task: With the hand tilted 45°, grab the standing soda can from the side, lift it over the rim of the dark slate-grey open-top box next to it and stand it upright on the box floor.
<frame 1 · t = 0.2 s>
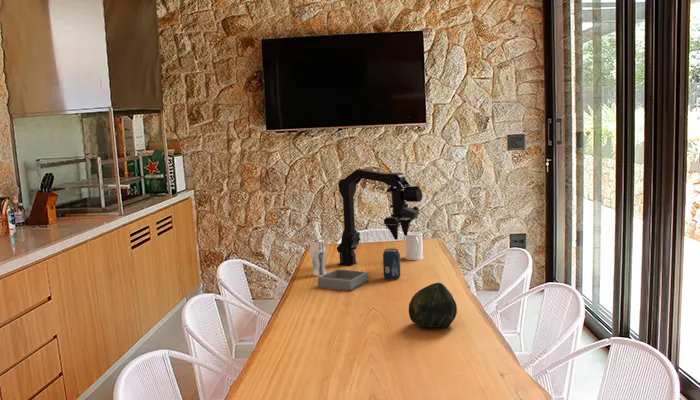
hand: (401, 237, 268), 14 cm above the table, tool pointing down, fingers open, 9 cm apart
squash: (433, 325, 198), on the table
open box: (343, 284, 250), on the table
beer glass: (319, 275, 267), on the table
mug: (414, 259, 289), on the table
soda can: (392, 278, 257), on the table
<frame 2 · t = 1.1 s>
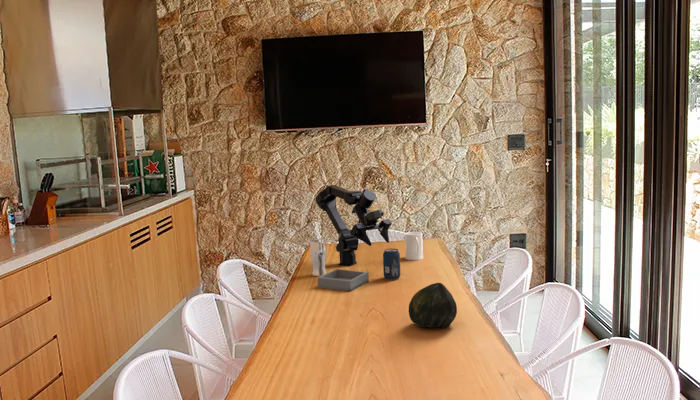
hand: (379, 243, 261), 13 cm above the table, tool tilted 45°, fingers open, 9 cm apart
nothing on the table moved.
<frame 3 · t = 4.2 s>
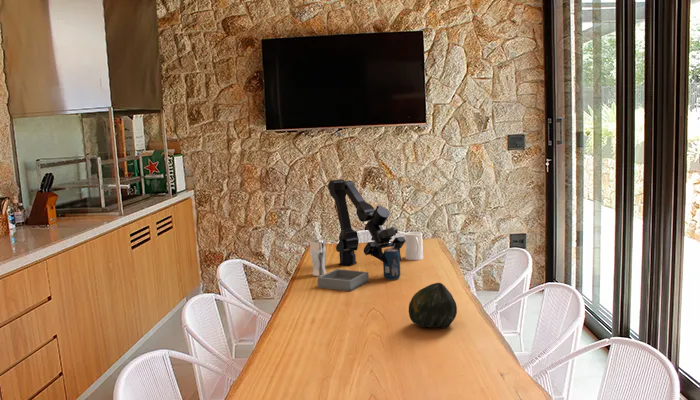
hand: (393, 262, 255), 7 cm above the table, tool tilted 45°, fingers closed on soda can, 7 cm apart
soda can: (392, 278, 257), on the table, touching gripper
everything else where it was.
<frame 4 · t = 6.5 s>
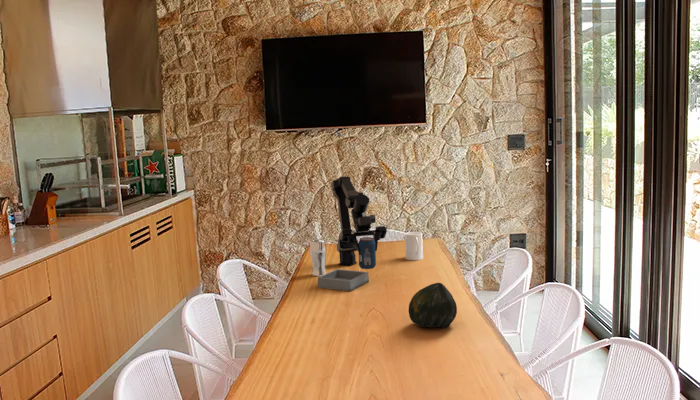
hand: (368, 251, 248), 13 cm above the table, tool tilted 45°, fingers closed on soda can, 7 cm apart
soda can: (367, 268, 251), point 6 cm above the table, touching gripper
everything else where it was.
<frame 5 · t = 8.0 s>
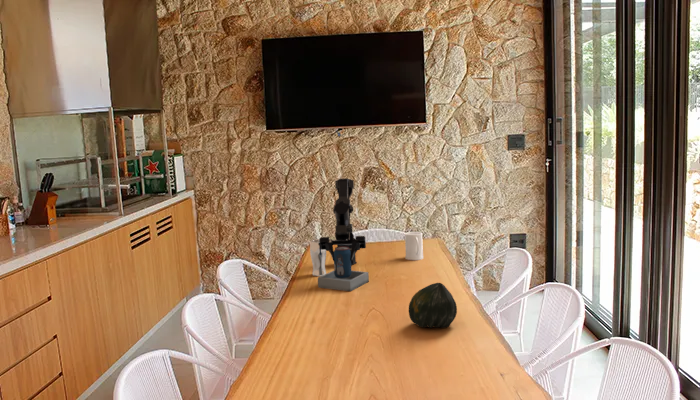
hand: (342, 260, 247), 10 cm above the table, tool tilted 45°, fingers closed on soda can, 7 cm apart
soda can: (343, 277, 250), point 3 cm above the table, touching gripper
everything else where it was.
when the fingers open (9 cm above the table, at t = 9.1 s): soda can drops 1 cm, resting on open box.
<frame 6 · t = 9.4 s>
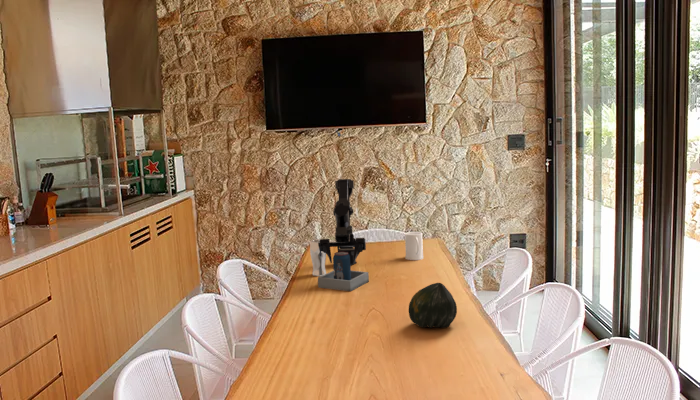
hand: (342, 262, 247), 10 cm above the table, tool tilted 45°, fingers open, 9 cm apart
soda can: (342, 282, 250), point 1 cm above the table, touching open box
everything else where it was.
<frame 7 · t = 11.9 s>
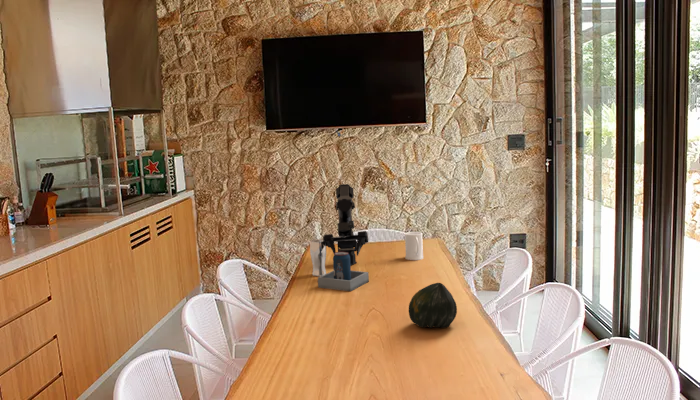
hand: (346, 256, 257), 10 cm above the table, tool tilted 40°, fingers open, 9 cm apart
nothing on the table moved.
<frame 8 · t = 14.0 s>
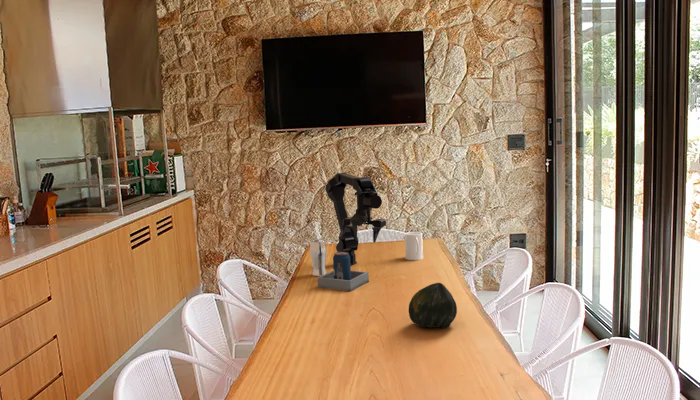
hand: (365, 241, 269), 13 cm above the table, tool pointing down, fingers open, 9 cm apart
nothing on the table moved.
at the end: soda can inside the target area on the open box (0.4 cm from its centre), point 0.8 cm above the open box's base; soda can tilted 0°; the gripper is holding nothing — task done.
